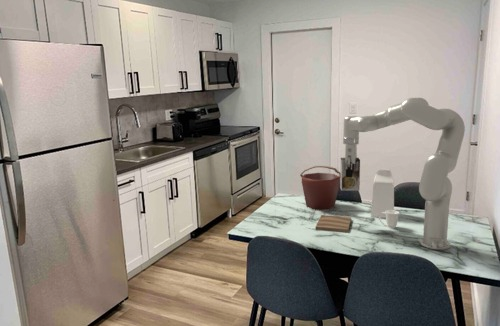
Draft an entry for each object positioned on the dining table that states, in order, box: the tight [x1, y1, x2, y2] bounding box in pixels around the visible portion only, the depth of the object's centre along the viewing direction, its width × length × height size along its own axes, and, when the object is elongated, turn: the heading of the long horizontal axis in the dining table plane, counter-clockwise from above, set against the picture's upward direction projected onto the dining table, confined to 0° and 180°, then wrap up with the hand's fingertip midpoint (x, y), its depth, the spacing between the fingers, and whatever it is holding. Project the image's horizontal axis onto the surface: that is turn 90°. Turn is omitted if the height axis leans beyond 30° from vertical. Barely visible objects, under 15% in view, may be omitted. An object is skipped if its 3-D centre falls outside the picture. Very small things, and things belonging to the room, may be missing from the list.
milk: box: [370, 168, 395, 219], centre depth 213 cm, size 12×12×26 cm
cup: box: [378, 209, 400, 230], centre depth 195 cm, size 7×10×8 cm
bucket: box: [300, 165, 341, 211], centre depth 233 cm, size 24×22×25 cm
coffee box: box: [339, 157, 361, 192], centre depth 196 cm, size 9×6×16 cm
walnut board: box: [315, 214, 352, 233], centre depth 201 cm, size 20×16×2 cm
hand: (349, 175), depth 196 cm, fingers closed on coffee box, 7 cm apart
